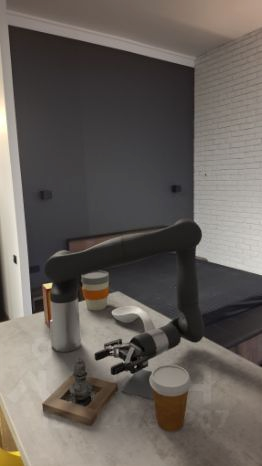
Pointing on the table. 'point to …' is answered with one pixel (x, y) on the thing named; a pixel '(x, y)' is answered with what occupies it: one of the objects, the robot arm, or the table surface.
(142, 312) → the spoon rest
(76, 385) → the black chess piece
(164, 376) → the disposable coffee cup
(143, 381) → the charcoal coaster
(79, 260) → the robot arm
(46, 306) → the baking soda box
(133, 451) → the table surface
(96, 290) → the reusable coffee cup
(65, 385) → the walnut holder
